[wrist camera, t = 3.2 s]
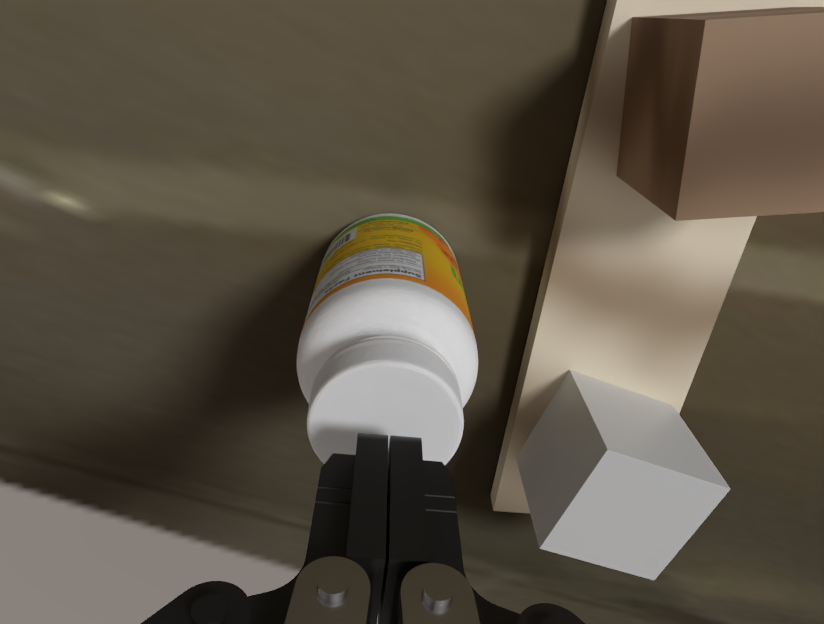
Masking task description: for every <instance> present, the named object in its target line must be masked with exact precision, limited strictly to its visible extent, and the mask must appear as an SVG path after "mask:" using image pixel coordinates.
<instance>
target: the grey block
mask: <svg viewBox="0 0 824 624" xmlns="http://www.w3.org/2000/svg"><path fill="white" fill-rule="evenodd" d="M516 461H517V465H518V468H519V472H520V476H521V480H522V484H523V487H524V491H525V495H526V499H527V503H528V506H529V510H530V514H531V518H532V522H533V525H534V529H535V533H536V537H537V541H538V544H539V548H540V549H543V550H547V551H550V552H554V553H558V554H561V555H565V556H568V557H572V558H576V559H579V560H583V561H586V562H590V563H594V564H597V565H601V566H604V567H608V568H612V569H615V570H619V571H622V572H626V573H629V574H633V575H637V576H640V577H644V578H647V579H651V580H655V579H656V578H657V577H658V575H659V574H660V573H661V572H662V571H663V569H664V568H665V567H666V566H667V565H668V563H669V562H670V561H671V560H672V559H673V557H674V556H675V555H676V554H677V553H678V551H679V550H680V549H681V548H682V547H683V545H684V544H685V543H686V542H687V541H688V539H689V538H690V537H691V536H692V535H693V533H694V532H695V531H696V530H697V529H698V527H699V526H700V525H701V524H702V523H703V521H704V520H705V519H706V518H707V517H708V515H709V514H710V513H711V512H712V511H713V510H714V508H715V507H716V506H717V505H718V504H719V502H720V501H721V500H722V499H723V498H724V496H725V495H726V494H727V493H728V492H729V490H730V487H729V486H728V484H727V483H726V482H725V480H724V479H723V477H722V476H721V474H720V473H719V471H718V470H717V469H716V467H715V466H714V464H713V463H712V461H711V460H710V458H709V457H708V456H707V454H706V453H705V451H704V450H703V448H702V447H701V445H700V444H699V443H698V441H697V440H696V438H695V437H694V435H693V434H692V432H691V431H690V430H689V428H688V427H687V425H686V424H685V422H684V421H683V420H682V418H681V417H680V415H679V414H678V412H677V411H676V409H675V408H674V407H673V405H671V404H668V403H665V402H662V401H659V400H656V399H654V398H651V397H648V396H645V395H642V394H639V393H636V392H633V391H630V390H627V389H625V388H622V387H619V386H616V385H613V384H610V383H607V382H604V381H601V380H598V379H596V378H593V377H590V376H587V375H584V374H581V373H578V372H575V371H572V370H569V371H568V373H567V375H566V376H565V378H564V380H563V381H562V383H561V384H560V386H559V388H558V389H557V391H556V393H555V394H554V396H553V398H552V399H551V401H550V403H549V404H548V406H547V408H546V409H545V411H544V413H543V414H542V416H541V417H540V419H539V421H538V422H537V424H536V426H535V427H534V429H533V431H532V432H531V434H530V436H529V437H528V439H527V441H526V442H525V444H524V446H523V447H522V449H521V450H520V452H519V454H518V455H517V457H516Z"/></svg>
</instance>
